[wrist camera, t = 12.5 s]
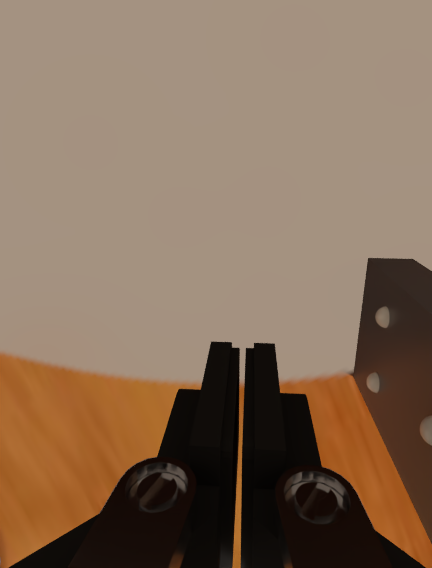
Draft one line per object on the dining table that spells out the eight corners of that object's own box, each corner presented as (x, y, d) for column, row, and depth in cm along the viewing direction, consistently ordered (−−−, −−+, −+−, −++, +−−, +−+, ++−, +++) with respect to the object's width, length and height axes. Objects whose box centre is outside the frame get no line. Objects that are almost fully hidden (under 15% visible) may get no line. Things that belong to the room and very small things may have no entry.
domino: (346, 376, 16) (452, 621, 8) (359, 258, 15) (512, 402, 6) (393, 378, 16) (555, 629, 8) (412, 259, 15) (642, 408, 6)
